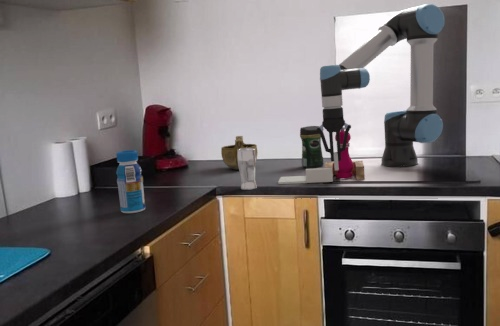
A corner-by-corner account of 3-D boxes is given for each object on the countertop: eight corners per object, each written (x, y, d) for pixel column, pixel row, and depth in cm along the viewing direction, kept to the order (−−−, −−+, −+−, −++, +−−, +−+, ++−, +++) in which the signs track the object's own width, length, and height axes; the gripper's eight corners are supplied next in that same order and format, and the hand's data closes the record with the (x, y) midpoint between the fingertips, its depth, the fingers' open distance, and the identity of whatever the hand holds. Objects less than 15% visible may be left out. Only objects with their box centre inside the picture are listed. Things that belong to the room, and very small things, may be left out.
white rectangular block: (332, 180, 188) (332, 167, 188) (332, 181, 186) (332, 168, 186) (306, 181, 190) (305, 168, 189) (306, 182, 188) (305, 169, 187)
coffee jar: (318, 164, 230) (316, 124, 227) (325, 166, 223) (324, 125, 220) (299, 166, 227) (297, 126, 225) (306, 169, 220) (304, 127, 217)
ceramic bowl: (259, 171, 222) (256, 138, 220) (221, 174, 222) (218, 141, 220) (257, 163, 244) (255, 133, 242) (223, 166, 244) (221, 136, 242)
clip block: (362, 172, 202) (362, 160, 201) (364, 179, 188) (364, 166, 187) (325, 174, 204) (325, 162, 204) (325, 180, 191) (324, 168, 190)
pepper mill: (352, 174, 198) (350, 125, 195) (354, 178, 191) (352, 127, 188) (334, 175, 199) (332, 126, 196) (336, 179, 192) (333, 128, 189)
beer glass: (260, 186, 189) (258, 147, 187) (253, 190, 183) (250, 150, 180) (244, 186, 192) (241, 148, 190) (236, 189, 186) (233, 150, 183)
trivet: (308, 177, 199) (307, 175, 199) (306, 183, 189) (306, 181, 189) (281, 178, 201) (281, 176, 201) (277, 184, 191) (277, 182, 191)
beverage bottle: (115, 213, 162) (108, 153, 159) (129, 207, 170) (123, 149, 167) (136, 214, 159) (130, 153, 156) (151, 207, 167) (144, 149, 164)
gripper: (350, 105, 185) (353, 166, 189) (315, 108, 188) (319, 168, 192) (350, 106, 178) (354, 170, 182) (314, 109, 180) (319, 172, 184)
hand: (336, 169), depth 187 cm, fingers closed
